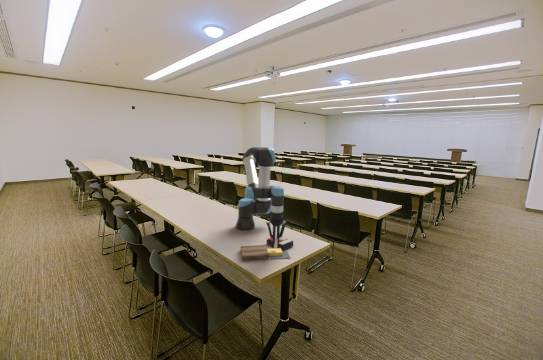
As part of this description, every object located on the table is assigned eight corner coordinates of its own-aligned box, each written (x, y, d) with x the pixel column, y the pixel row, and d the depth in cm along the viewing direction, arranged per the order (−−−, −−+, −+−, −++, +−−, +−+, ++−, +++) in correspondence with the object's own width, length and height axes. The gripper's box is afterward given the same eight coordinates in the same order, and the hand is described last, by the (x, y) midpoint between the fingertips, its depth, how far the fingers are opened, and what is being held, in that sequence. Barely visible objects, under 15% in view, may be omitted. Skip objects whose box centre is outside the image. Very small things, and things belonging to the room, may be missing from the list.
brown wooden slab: (240, 250, 164) (240, 246, 163) (265, 249, 167) (265, 245, 166) (242, 261, 150) (242, 256, 150) (268, 259, 153) (269, 254, 153)
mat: (265, 249, 167) (265, 248, 167) (285, 248, 170) (285, 247, 169) (269, 259, 154) (269, 259, 153) (290, 258, 156) (290, 257, 156)
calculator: (277, 234, 182) (293, 239, 172) (277, 240, 183) (293, 245, 172) (266, 238, 175) (282, 244, 164) (266, 244, 175) (282, 250, 165)
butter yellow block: (266, 251, 163) (266, 248, 163) (280, 251, 164) (280, 248, 164) (268, 256, 157) (268, 253, 157) (282, 255, 159) (282, 252, 158)
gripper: (267, 213, 151) (266, 250, 156) (288, 213, 154) (287, 249, 158) (265, 210, 159) (264, 245, 163) (285, 209, 161) (284, 244, 165)
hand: (275, 247), depth 161 cm, fingers closed
